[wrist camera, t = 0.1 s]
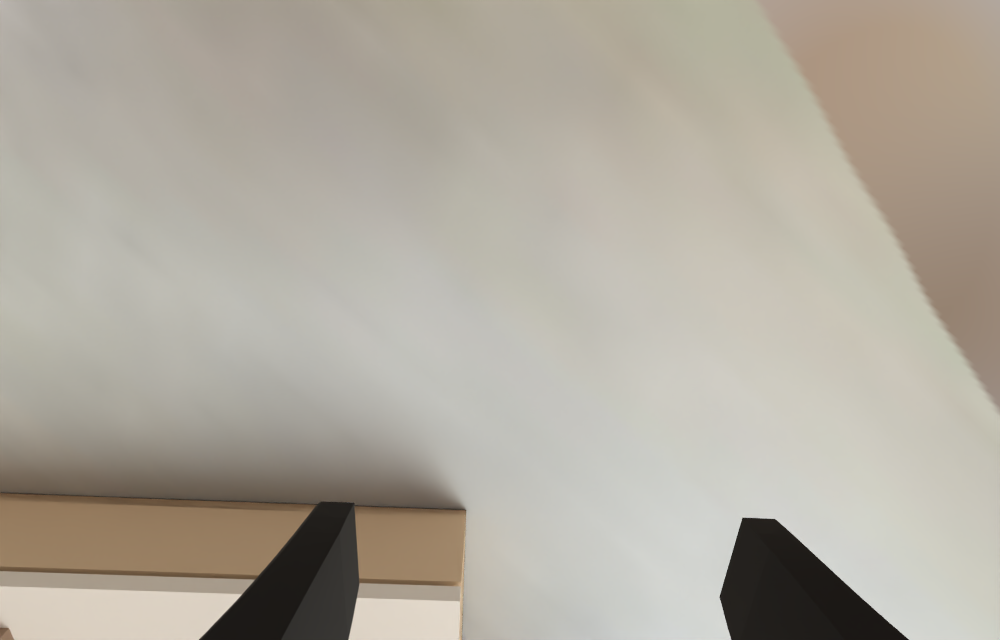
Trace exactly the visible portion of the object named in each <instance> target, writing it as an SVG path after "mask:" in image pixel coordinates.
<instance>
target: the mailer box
mask: <svg viewBox="0 0 1000 640" xmlns="http://www.w3.org/2000/svg"><path fill="white" fill-rule="evenodd" d="M315 506H316V505H309V504H282V503H255V502H227V501H200V500H173V499H145V498H118V497H91V496H64V495H36V494H9V493H0V571H13V572H43V573H72V574H102V575H132V576H162V577H192V578H222V579H252V580H255V579H256V578H257V577H258V576H259V575H260V573H261V572H262V571H263V570H264V569H265V568H266V567H267V565H268V564H269V563H270V562H271V561H272V560H273V558H274V557H275V556H276V555H277V554H278V552H279V551H280V550H281V549H282V548H283V546H284V545H285V544H286V543H287V542H288V540H289V539H290V538H291V537H292V535H293V534H294V533H295V532H296V530H297V529H298V528H299V527H300V525H301V524H302V523H303V522H304V520H305V519H306V518H307V516H308V515H309V514H310V513H311V511H312V510H313V509H314V507H315ZM355 521H356V537H357V552H358V568H359V583H371V584H401V585H431V586H461V598H460V629H459V640H462V616H463V587H464V558H465V529H466V510H446V509H419V508H391V507H364V506H355Z"/></svg>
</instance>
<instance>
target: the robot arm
mask: <svg viewBox="0 0 1000 640" xmlns="http://www.w3.org/2000/svg"><path fill="white" fill-rule="evenodd" d="M359 584H360V583H359V568H358V552H357V537H356V521H355V506H354V503H341V502H320V503H319V504H318V505H316V506H315V507H314V509H313V510H312V511H311V513H310V514H309V515H308V516H307V518H306V519H305V520H304V522H303V523H302V524H301V525H300V527H299V528H298V529H297V530H296V532H295V533H294V534H293V535H292V537H291V538H290V539H289V540H288V542H287V543H286V544H285V545H284V546H283V548H282V549H281V550H280V551H279V552H278V554H277V555H276V556H275V557H274V558H273V560H272V561H271V562H270V563H269V564H268V565H267V567H266V568H265V569H264V570H263V571H262V572H261V573H260V575H259V576H258V577H257V578H256V579H255V580H254V581H253V583H252V584H251V585H250V586H249V587H248V588H247V589H246V590H245V592H244V593H243V594H242V595H241V596H240V597H239V598H238V599H237V600H236V602H235V603H234V604H233V605H232V606H231V607H230V608H229V609H228V610H227V611H226V612H225V613H224V614H223V615H222V616H221V617H220V618H219V619H218V620H217V621H216V622H215V623H214V625H213V626H212V627H211V628H210V629H209V630H208V631H207V632H206V633H205V634H204V635H203V636H202V637H201V638H200V639H199V640H349V635H350V630H351V625H352V621H353V616H354V611H355V605H356V600H357V595H358V590H359ZM720 600H721V603H722V607H723V611H724V615H725V619H726V622H727V626H728V630H729V633H730V636H731V640H909V639H907V638H906V637H905V636H904V635H903V634H902V633H900V632H899V631H898V630H897V629H896V628H895V627H893V626H892V625H891V624H890V623H889V622H888V621H887V620H885V619H884V618H883V617H882V616H881V615H880V614H879V613H877V612H876V611H875V610H874V609H873V608H872V607H871V606H870V605H869V604H867V603H866V602H865V601H864V600H863V599H862V598H861V597H860V596H859V595H857V594H856V593H855V592H854V591H853V590H852V589H851V588H850V587H849V586H848V585H846V584H845V583H844V582H843V581H842V580H841V579H840V578H839V577H838V576H837V575H836V574H835V573H833V572H832V571H831V570H830V569H829V568H828V567H827V566H826V565H825V564H824V563H823V562H822V561H820V560H819V559H818V558H817V557H816V556H815V555H814V554H813V553H812V552H811V551H810V550H809V549H808V548H807V547H805V546H804V545H803V544H802V543H801V542H800V541H799V540H798V539H797V538H796V537H795V536H794V535H792V534H791V533H790V532H789V531H788V530H787V529H786V528H785V527H783V526H782V525H781V524H780V523H779V522H778V521H777V520H775V519H760V518H742V522H741V525H740V528H739V532H738V535H737V539H736V542H735V546H734V549H733V553H732V556H731V560H730V563H729V566H728V570H727V573H726V577H725V580H724V584H723V587H722V591H721V594H720Z"/></svg>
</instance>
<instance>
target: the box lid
mask: <svg viewBox="0 0 1000 640" xmlns="http://www.w3.org/2000/svg"><path fill="white" fill-rule="evenodd" d="M253 581H254V580H252V579H222V578H192V577H162V576H132V575H102V574H72V573H43V572H13V571H0V640H199V639H200V638H201V637H202V636H203V635H204V634H205V633H206V632H207V631H208V630H209V629H210V628H211V627H212V626H213V625H214V623H215V622H216V621H217V620H218V619H219V618H220V617H221V616H222V615H223V614H224V613H225V612H226V611H227V610H228V609H229V608H230V607H231V606H232V605H233V604H234V603H235V602H236V600H237V599H238V598H239V597H240V596H241V595H242V594H243V593H244V592H245V590H246V589H247V588H248V587H249V586H250V585H251V584H252V583H253ZM460 598H461V586H431V585H401V584H371V583H360V584H359V590H358V595H357V600H356V605H355V611H354V616H353V621H352V625H351V630H350V635H349V640H459V629H460Z"/></svg>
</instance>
